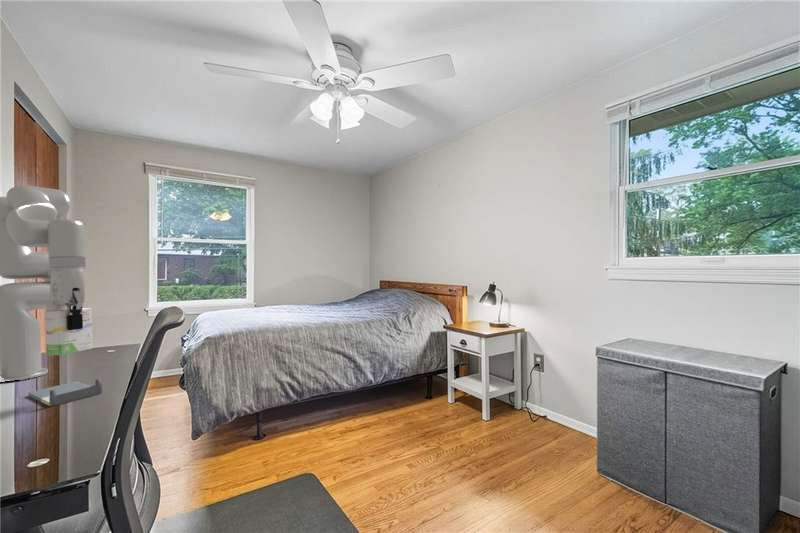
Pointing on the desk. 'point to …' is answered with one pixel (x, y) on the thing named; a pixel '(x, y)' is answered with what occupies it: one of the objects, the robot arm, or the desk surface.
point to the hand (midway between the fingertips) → (69, 328)
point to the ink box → (66, 331)
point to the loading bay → (66, 392)
